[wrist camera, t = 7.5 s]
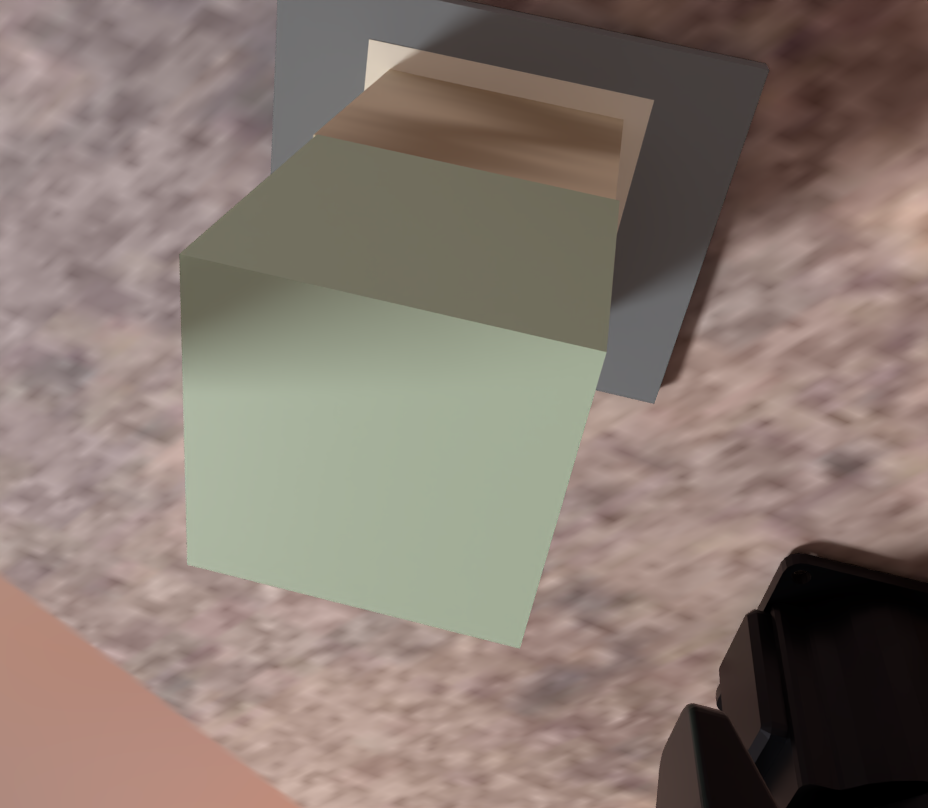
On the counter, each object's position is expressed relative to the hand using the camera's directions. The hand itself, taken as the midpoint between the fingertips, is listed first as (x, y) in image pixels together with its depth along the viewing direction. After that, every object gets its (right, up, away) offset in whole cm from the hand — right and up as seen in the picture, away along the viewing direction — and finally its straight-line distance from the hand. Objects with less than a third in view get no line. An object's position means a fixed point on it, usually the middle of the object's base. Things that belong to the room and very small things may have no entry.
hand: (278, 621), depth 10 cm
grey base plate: (+3, +7, +11) cm, 13 cm away
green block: (+2, +4, +6) cm, 7 cm away
